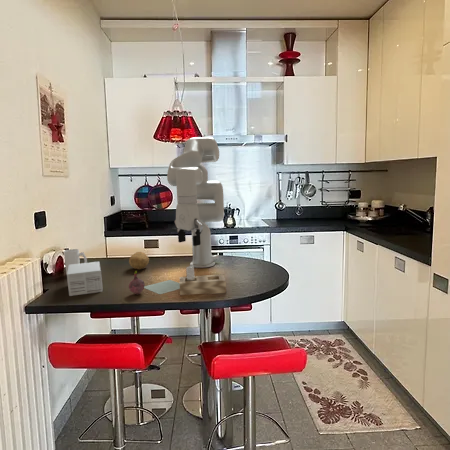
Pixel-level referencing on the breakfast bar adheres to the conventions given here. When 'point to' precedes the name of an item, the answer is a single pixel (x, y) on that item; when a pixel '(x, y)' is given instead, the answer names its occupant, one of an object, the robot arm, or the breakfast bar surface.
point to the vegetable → (136, 285)
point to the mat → (163, 287)
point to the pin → (190, 273)
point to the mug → (73, 257)
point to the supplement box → (84, 278)
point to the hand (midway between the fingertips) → (189, 243)
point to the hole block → (203, 285)
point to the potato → (139, 260)
